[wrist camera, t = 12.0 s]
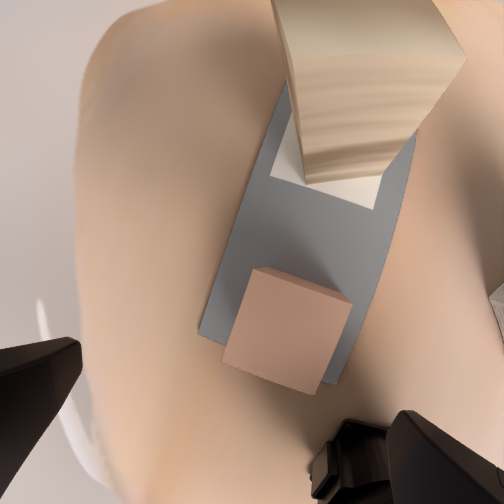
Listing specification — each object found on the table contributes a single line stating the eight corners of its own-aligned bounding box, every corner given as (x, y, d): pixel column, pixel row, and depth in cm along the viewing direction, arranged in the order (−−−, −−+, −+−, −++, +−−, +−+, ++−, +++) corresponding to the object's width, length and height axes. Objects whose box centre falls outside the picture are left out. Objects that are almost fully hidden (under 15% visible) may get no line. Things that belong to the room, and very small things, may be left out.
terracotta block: (342, 292, 18) (352, 304, 13) (313, 363, 19) (313, 395, 14) (267, 266, 19) (253, 269, 14) (242, 337, 20) (220, 361, 15)
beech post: (380, 175, 18) (467, 58, 5) (305, 185, 19) (292, 61, 6) (363, 108, 18) (400, -40, 5) (293, 116, 19) (261, -37, 6)
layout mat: (418, 114, 18) (420, 111, 17) (335, 383, 19) (335, 386, 18) (290, 74, 20) (289, 70, 19) (199, 332, 21) (197, 334, 20)
